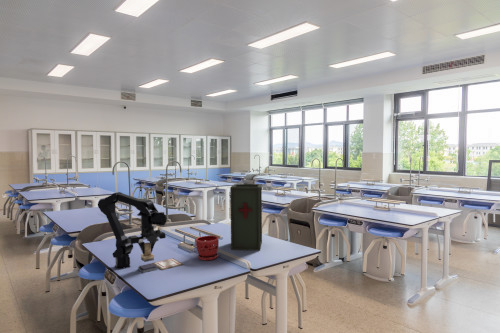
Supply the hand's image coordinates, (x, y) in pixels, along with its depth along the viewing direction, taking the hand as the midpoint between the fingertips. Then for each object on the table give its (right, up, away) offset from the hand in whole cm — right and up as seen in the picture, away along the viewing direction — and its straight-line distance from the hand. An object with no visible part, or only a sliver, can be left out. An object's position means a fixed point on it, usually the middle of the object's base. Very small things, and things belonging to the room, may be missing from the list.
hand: (147, 253), depth 174 cm
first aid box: (+53, -7, +42) cm, 68 cm away
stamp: (0, -4, 0) cm, 4 cm away
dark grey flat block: (0, -9, 0) cm, 9 cm away
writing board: (+9, -8, +8) cm, 14 cm away
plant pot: (+30, -8, +18) cm, 36 cm away
